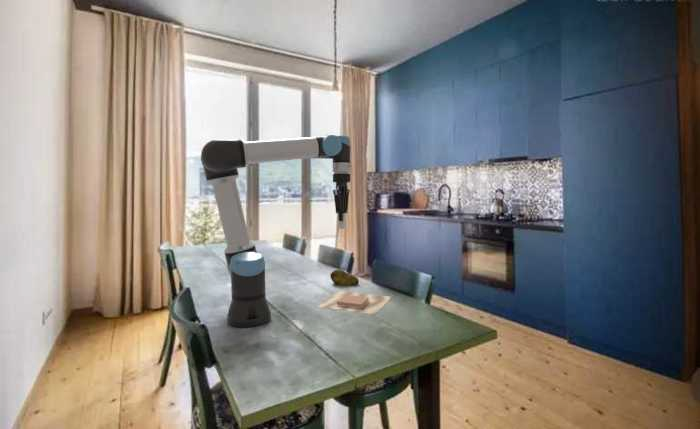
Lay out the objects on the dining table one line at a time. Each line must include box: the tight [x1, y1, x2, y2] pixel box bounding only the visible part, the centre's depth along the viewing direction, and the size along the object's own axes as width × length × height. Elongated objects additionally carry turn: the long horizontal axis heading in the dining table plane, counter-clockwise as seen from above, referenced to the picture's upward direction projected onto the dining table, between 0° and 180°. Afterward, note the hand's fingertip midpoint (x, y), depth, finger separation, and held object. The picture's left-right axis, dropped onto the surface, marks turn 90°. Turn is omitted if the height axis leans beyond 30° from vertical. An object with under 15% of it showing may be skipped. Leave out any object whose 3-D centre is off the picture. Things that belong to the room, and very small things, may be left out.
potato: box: [329, 269, 360, 287], centre depth 169 cm, size 8×13×8 cm, turn 63°
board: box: [315, 290, 392, 315], centre depth 143 cm, size 24×22×2 cm
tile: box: [337, 295, 369, 308], centre depth 141 cm, size 10×2×9 cm
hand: (341, 228), depth 154 cm, fingers closed
